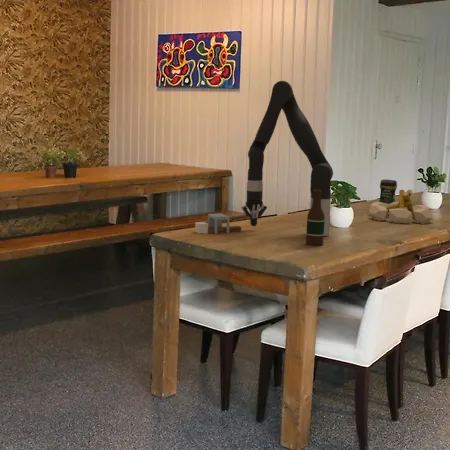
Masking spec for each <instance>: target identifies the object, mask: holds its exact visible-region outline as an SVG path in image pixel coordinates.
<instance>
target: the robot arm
mask: <svg viewBox="0 0 450 450" xmlns="http://www.w3.org/2000/svg"><path fill="white" fill-rule="evenodd" d="M292 87H293V86H292V85H291V84H290V83H289V82H288V81H287V80H278V81H277V82H275V83H274V84H273V87H272V88H271V89H272V90H271V94H270V95H271V96H270V98H269V103H268V105H267V108H266V111H265V113H264V115H263V117H262V120H261V122H260V124H259V127H258V129H257V131H256V133H255V137H254V139H253V142H252V143H251V145H250V147H249V149H248V152H247V157H248V171H247V183H246V201H245V205H244V206H241V211H243V212H244V214H245V215H246V217H248V218H249V219H250V221H249V222H250V225H251V227H256V226H257V225H258V218H260V217H262V215H264V213H265V212H266V211H267V208H268V207H267V206H266V205H264V202H263V193H264V191H263V190H264V184H263V183H264V182H263V177H264V176H263V175H264V173H263V170H264V162H265V161H264V160H265V154H264V153H265V150H266V148H267V145H269V143H270V141H271V139H272V136H273V134H274V133H275V129H276V126H277V123H278V119H279V117H280V114H281V112H283V113H284V115H285V118H286V122H287V125H288V127H289V130H290V132H291V134H292V137H293V139H294V141H295V143H296V144H297V146H298V147H299V149H300V150H301V152H302V153H303V154H304V155H305V156H306V158H307V161H308V162H309V164H310V166H311V168H312V169H311V171H310V172H311V173H310V188H309V189H310V202H309V203H310V204H309V205H310V206H309V210H310V209H311V208H312V204H313V196H314V192H313V191H314V189H320V190H321V191H322V193H321V209H322V211H323V213H324V216H325V221H324V237H325V236H327V237H329V236H330V230H331V229H330V227H331V203H332V202H331V199H332V192H331V184H332V182H331V181H332V179H333V177H334V176H333V175H334V170H333V168H332V165H331V164H330V162H329V161H328V160H327V158H326V157H325V155H324V153H323V151H322V149H321V146H320V143H319V141H318V139H317V137H316V135H315V132H314V130H313V128H312V126H311V124H310V122H309V120H308V119H307V117H306V116H305V114H304V113H303V111H302V110H301V108H300V106H299V105H298V102H297V99H296V97H295V94H294V91H293V88H292Z"/></svg>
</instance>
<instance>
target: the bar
mask: <svg viewBox="0 0 450 450" xmlns="http://www.w3.org/2000/svg"><path fill="white" fill-rule="evenodd" d="M214 229H215V227H208V233H207V234H215V233H214ZM226 229H227V225H226V226H222V227H217V234H218V233H219V234H220V233H222V234H223V233H226ZM240 231H241V232H242V226H240V225H231V226H230V225H229V233H239V232H240ZM241 232H240V233H241Z"/></svg>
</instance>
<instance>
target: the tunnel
mask: <svg viewBox="0 0 450 450" xmlns="http://www.w3.org/2000/svg"><path fill="white" fill-rule="evenodd" d="M224 220H226V226H227V229H226V232H225V233H226V234H230V232H229V226H230V223H231V222H230V221H231V216H229V215H226V214H224V213H221V212H220V213H208V214H207V224H208V227H215V229H214V233H213V234H218V233H217V227H223V221H224Z"/></svg>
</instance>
